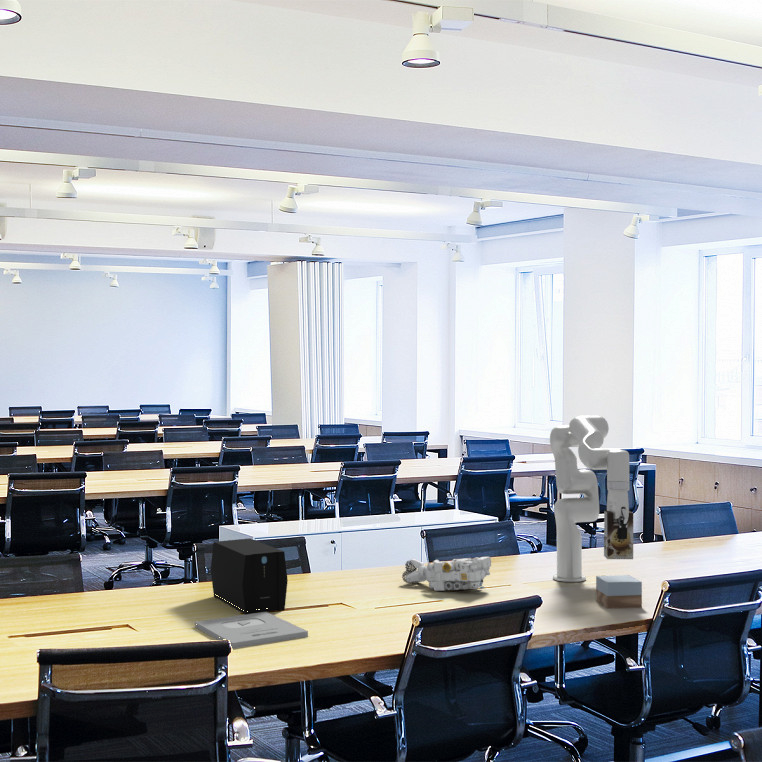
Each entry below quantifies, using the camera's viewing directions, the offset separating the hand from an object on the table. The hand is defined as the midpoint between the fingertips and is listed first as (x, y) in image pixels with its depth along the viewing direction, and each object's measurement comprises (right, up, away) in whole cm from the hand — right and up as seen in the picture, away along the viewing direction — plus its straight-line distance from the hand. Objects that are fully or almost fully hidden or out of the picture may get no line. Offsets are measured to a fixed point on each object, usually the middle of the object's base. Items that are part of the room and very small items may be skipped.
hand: (618, 537), depth 339 cm
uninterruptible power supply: (-129, -24, +5) cm, 132 cm away
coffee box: (0, -7, 0) cm, 7 cm away
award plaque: (-123, -25, -35) cm, 130 cm away
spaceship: (-59, -24, +27) cm, 69 cm away
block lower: (0, -24, 0) cm, 24 cm away
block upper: (0, -19, 0) cm, 19 cm away
